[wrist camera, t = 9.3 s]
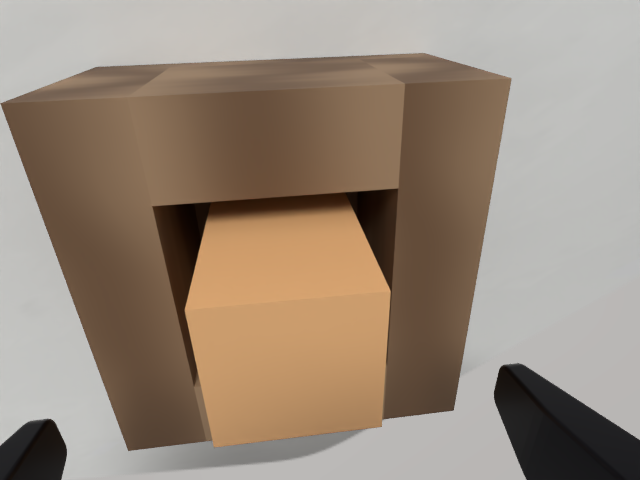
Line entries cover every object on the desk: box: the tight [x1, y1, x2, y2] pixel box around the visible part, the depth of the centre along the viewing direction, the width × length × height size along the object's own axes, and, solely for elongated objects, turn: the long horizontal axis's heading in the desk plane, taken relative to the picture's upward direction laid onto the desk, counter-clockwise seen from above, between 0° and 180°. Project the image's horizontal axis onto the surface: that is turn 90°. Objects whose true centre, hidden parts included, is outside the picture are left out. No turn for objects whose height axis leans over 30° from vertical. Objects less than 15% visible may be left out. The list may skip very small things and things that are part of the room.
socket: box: [0, 53, 511, 451], centre depth 15 cm, size 11×11×6 cm
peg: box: [185, 192, 391, 447], centre depth 13 cm, size 4×4×8 cm
